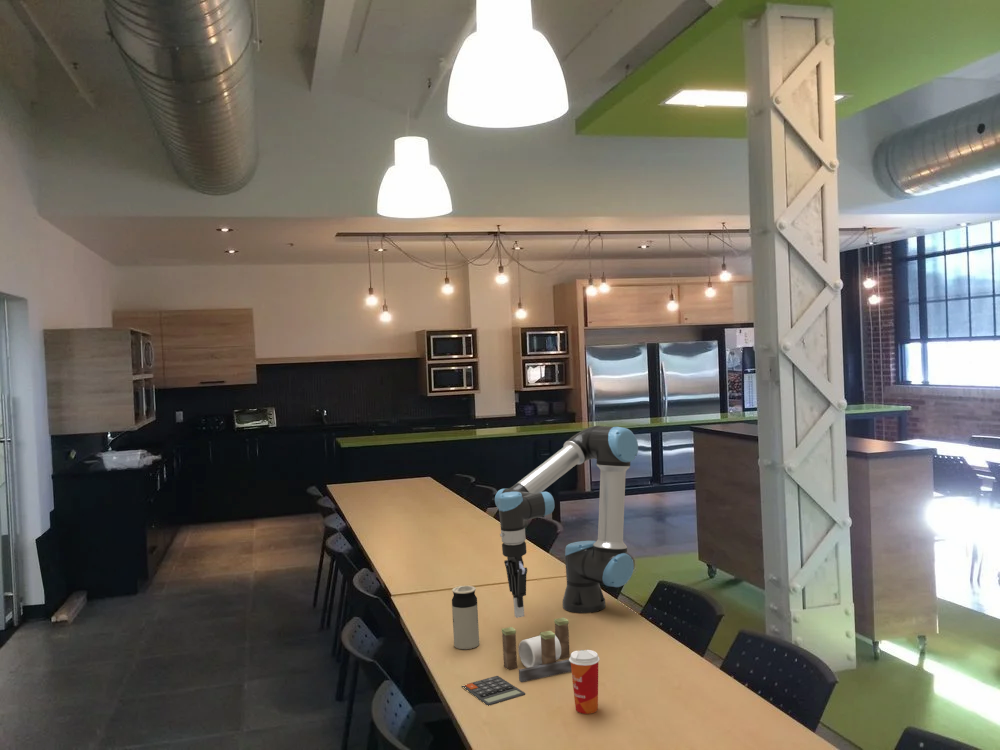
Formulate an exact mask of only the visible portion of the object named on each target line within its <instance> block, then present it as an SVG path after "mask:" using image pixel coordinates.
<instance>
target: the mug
mask: <svg viewBox="0 0 1000 750" xmlns="http://www.w3.org/2000/svg"><path fill="white" fill-rule="evenodd" d="M555 653H556V661H557V660H558V661H559V659H560V656H561V645H560V642H559V640H558V638H557V637H556V635H555ZM518 657H519V659H520V661H521V663H522V665H523V666H524V667H525V668H529V667H534V666H538V665H542V652H541V636H540V634H539V635H536V636H533V637H530V638H526V639H522V640H521V641H519V644H518Z"/></svg>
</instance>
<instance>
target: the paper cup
mask: <svg viewBox="0 0 1000 750" xmlns="http://www.w3.org/2000/svg"><path fill="white" fill-rule="evenodd" d="M568 659H569V661H570V662H571V671H572V672H571V679H572V680H571V681H572V688H573V700H574V706H575V710H576V712H577V713H579V714H582V715H589V714H591V715H592V714H594V713H597V711H598V709H599V708H598V707H599V662H600V657H599V654H598V653H597V652H596V651H595V650H591V649H585V650H584V649H580V650H573V652H571V653H570V657H568Z"/></svg>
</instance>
